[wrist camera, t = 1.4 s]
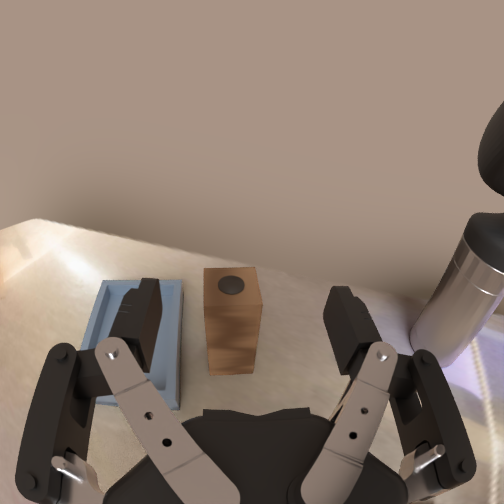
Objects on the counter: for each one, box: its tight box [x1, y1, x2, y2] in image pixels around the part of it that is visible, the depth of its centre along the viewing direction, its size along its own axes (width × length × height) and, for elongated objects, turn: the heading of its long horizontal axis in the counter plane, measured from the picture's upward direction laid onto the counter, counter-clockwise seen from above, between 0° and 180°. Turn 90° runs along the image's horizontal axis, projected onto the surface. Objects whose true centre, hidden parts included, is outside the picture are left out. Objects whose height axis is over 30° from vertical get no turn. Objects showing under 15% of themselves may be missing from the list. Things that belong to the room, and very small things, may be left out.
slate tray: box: [80, 280, 184, 410], centre depth 32 cm, size 12×18×3 cm, turn 7°
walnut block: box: [204, 267, 263, 375], centre depth 29 cm, size 5×5×12 cm
